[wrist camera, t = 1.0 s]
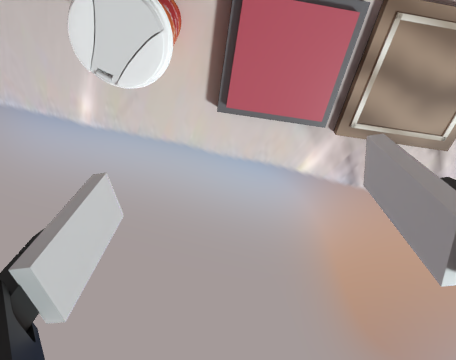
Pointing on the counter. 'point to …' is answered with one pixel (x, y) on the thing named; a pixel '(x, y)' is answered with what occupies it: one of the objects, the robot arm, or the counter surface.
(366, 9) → the ink pad
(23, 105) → the counter surface
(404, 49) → the marked board
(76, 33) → the paper cup
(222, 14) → the counter surface
